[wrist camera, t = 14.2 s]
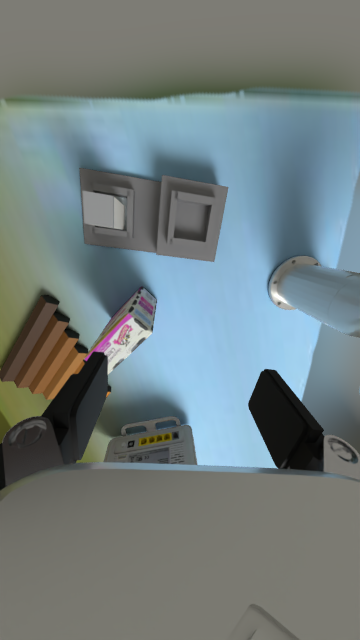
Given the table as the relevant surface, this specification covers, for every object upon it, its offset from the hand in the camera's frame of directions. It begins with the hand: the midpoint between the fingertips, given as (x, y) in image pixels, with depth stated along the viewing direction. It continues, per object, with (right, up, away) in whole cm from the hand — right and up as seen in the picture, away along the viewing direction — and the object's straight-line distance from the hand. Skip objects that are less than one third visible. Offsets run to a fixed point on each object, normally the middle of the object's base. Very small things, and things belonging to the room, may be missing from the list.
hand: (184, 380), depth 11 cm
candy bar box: (-11, +6, +32) cm, 35 cm away
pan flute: (-27, -6, +37) cm, 46 cm away
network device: (-9, -32, +49) cm, 59 cm away
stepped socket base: (-6, +23, +25) cm, 35 cm away
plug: (-13, +23, +23) cm, 35 cm away
